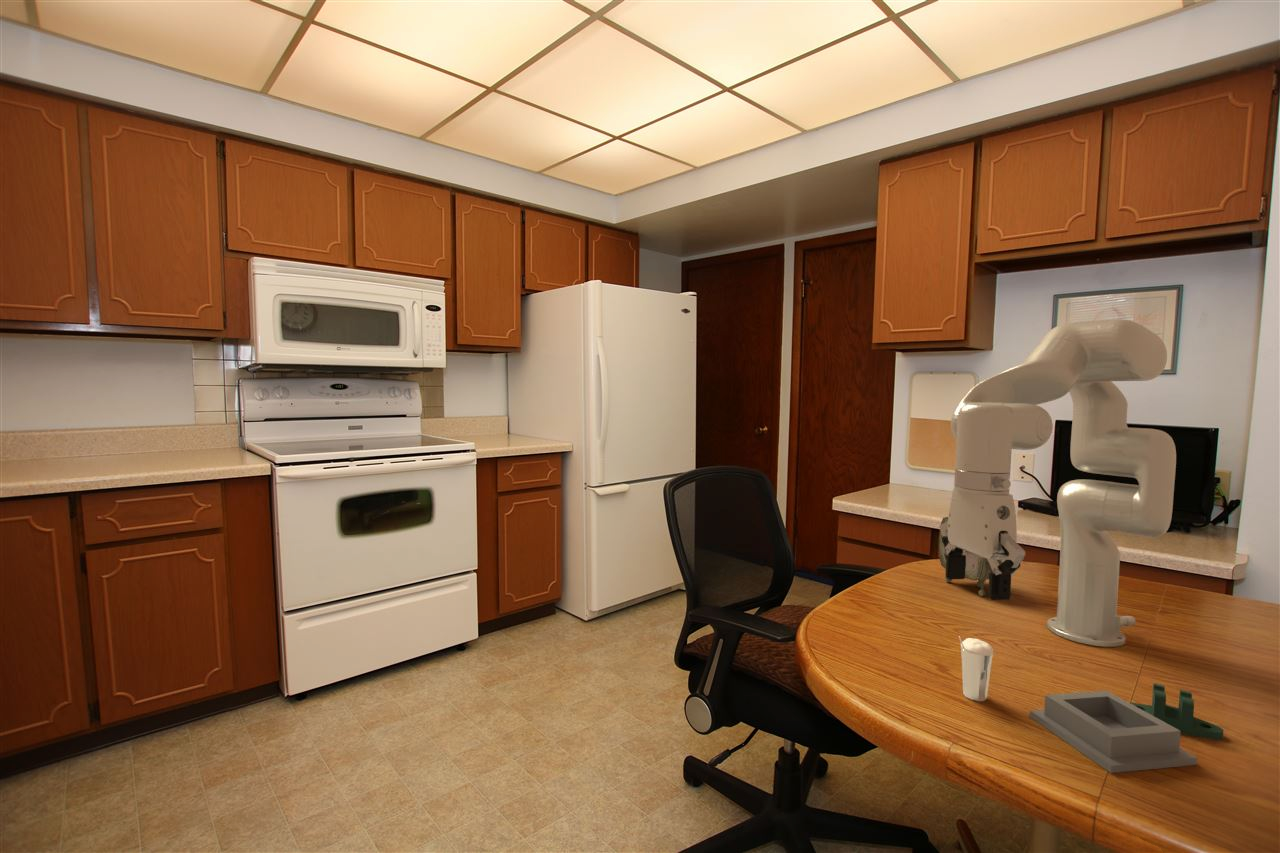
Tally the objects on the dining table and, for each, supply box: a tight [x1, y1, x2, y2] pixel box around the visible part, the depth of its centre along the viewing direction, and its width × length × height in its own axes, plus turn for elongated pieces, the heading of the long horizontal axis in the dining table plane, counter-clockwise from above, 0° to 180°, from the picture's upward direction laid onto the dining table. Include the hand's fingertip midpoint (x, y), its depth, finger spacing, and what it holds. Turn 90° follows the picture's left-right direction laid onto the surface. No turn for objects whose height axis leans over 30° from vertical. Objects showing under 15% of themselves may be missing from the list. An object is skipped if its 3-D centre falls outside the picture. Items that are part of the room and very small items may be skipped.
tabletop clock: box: [938, 516, 1002, 597], centre depth 144 cm, size 14×9×25 cm, turn 14°
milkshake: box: [958, 636, 994, 702], centre depth 93 cm, size 5×5×10 cm
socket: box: [1029, 690, 1198, 774], centre depth 82 cm, size 13×13×4 cm
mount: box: [1128, 682, 1224, 741], centre depth 86 cm, size 11×4×5 cm, turn 51°
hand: (975, 588), depth 92 cm, fingers open, 9 cm apart
